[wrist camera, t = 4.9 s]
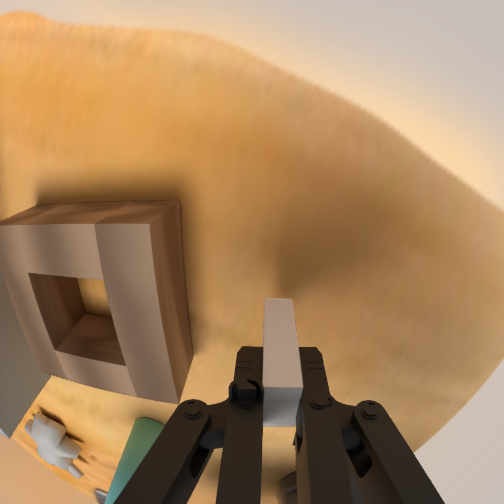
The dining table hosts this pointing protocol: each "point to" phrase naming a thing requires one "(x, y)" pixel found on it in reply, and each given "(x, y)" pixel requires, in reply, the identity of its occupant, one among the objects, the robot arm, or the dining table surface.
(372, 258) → the dining table surface
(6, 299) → the board
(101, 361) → the socket block
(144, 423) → the dowel
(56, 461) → the white bear-shaped figure
